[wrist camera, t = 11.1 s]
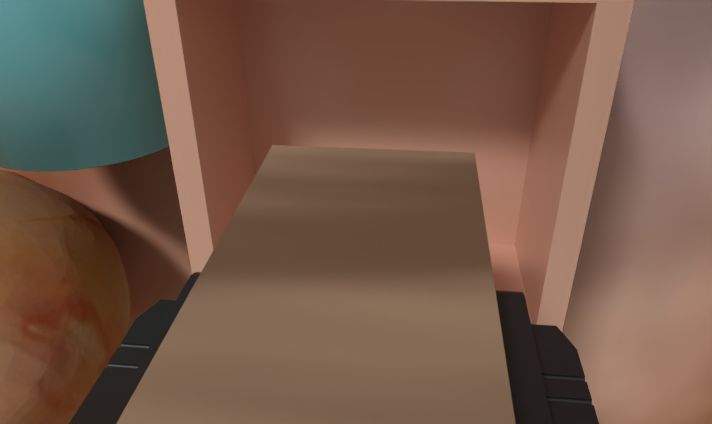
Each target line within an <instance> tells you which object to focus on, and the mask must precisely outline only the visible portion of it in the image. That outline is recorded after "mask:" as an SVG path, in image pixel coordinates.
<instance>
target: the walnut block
mask: <svg viewBox="0 0 712 424" xmlns="http://www.w3.org/2000/svg"><path fill="white" fill-rule="evenodd" d="M116 424H516V423H515V416H514V410H513V403H512V397H511V390H510V383H509V377H508V370H507V363H506V357H505V350H504V344H503V337H502V330H501V324H500V317H499V311H498V304H497V297H496V291H495V284H494V278H493V271H492V264H491V258H490V251H489V244H488V238H487V231H486V225H485V218H484V211H483V205H482V198H481V192H480V185H479V178H478V172H477V165H476V159H475V153H469V152H443V151H417V150H391V149H364V148H338V147H312V146H286V145H272V147H271V148H270V150H269V152H268V154H267V156H266V157H265V159H264V161H263V163H262V165H261V166H260V168H259V170H258V172H257V173H256V175H255V177H254V179H253V181H252V182H251V184H250V186H249V188H248V190H247V191H246V193H245V195H244V197H243V198H242V200H241V202H240V204H239V206H238V207H237V209H236V211H235V213H234V215H233V216H232V218H231V220H230V222H229V223H228V225H227V227H226V229H225V231H224V232H223V234H222V236H221V238H220V240H219V241H218V243H217V245H216V247H215V248H214V250H213V252H212V254H211V256H210V257H209V259H208V261H207V263H206V265H205V266H204V268H203V270H202V272H201V273H200V275H199V277H198V279H197V281H196V282H195V284H194V286H193V288H192V290H191V291H190V293H189V295H188V297H187V298H186V300H185V302H184V304H183V306H182V307H181V309H180V311H179V313H178V315H177V316H176V318H175V320H174V322H173V323H172V325H171V327H170V329H169V331H168V332H167V334H166V336H165V338H164V340H163V341H162V343H161V345H160V347H159V348H158V350H157V352H156V354H155V356H154V357H153V359H152V361H151V363H150V365H149V366H148V368H147V370H146V372H145V373H144V375H143V377H142V379H141V381H140V382H139V384H138V386H137V388H136V390H135V391H134V393H133V395H132V397H131V398H130V400H129V402H128V404H127V406H126V407H125V409H124V411H123V413H122V415H121V416H120V418H119V420H118V422H117V423H116Z"/></svg>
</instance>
